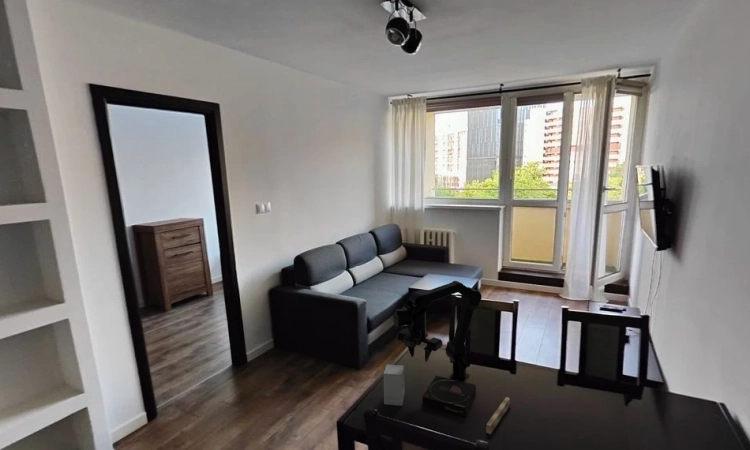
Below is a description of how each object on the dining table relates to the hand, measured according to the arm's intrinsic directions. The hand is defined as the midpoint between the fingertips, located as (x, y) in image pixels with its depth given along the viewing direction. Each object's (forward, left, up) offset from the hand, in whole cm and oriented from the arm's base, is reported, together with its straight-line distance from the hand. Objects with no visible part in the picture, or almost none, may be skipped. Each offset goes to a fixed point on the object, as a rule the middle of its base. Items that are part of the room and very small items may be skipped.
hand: (419, 359), depth 145 cm
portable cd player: (0, +14, -13) cm, 19 cm away
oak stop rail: (0, +33, -12) cm, 35 cm away
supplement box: (+14, -3, -12) cm, 19 cm away
